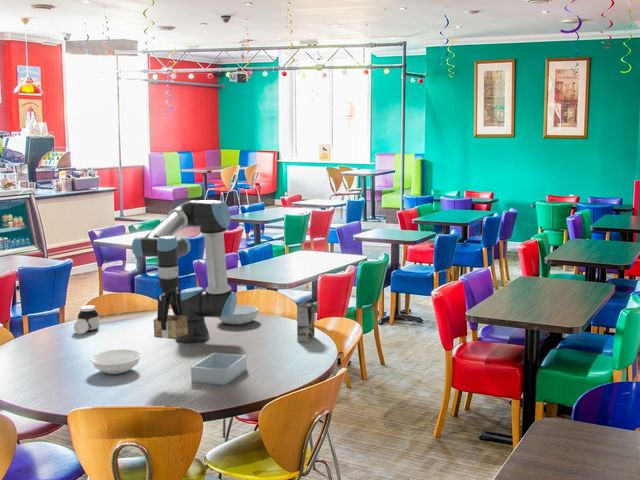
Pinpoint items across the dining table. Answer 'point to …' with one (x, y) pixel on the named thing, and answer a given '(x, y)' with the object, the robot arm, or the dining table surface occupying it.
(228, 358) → the plastic tote
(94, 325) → the spread jar
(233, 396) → the dining table surface
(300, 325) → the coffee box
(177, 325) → the wooden crate
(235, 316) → the serving bowl
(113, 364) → the bowl
